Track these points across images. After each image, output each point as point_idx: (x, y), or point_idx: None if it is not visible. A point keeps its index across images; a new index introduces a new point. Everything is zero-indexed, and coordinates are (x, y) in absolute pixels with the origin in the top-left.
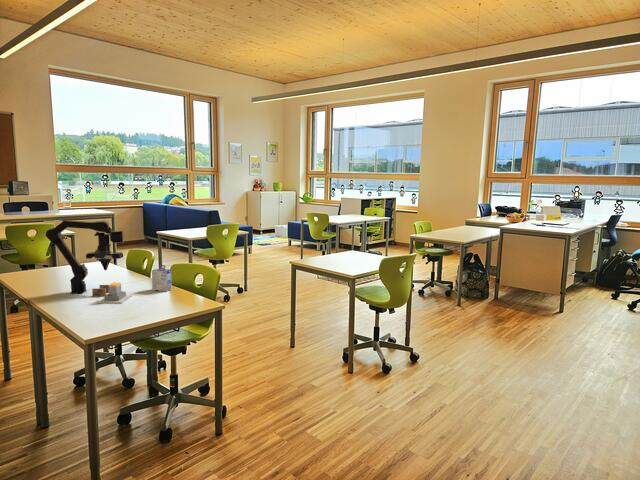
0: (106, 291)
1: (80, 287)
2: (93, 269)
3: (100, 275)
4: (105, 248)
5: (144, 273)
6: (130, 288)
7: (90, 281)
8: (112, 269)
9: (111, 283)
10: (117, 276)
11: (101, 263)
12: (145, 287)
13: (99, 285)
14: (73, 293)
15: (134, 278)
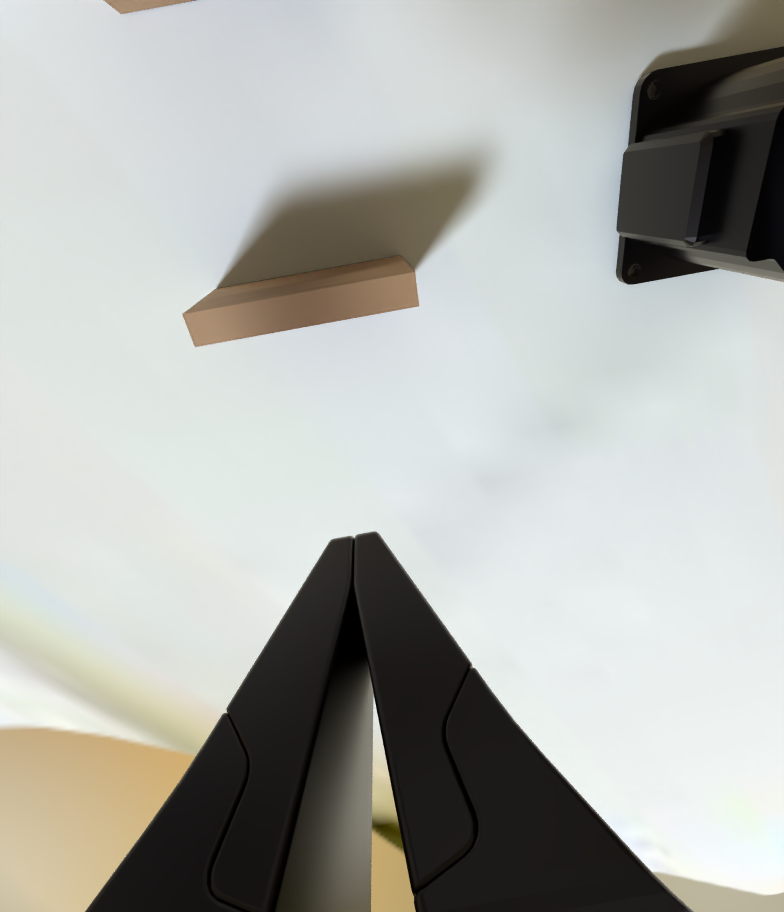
0: (300, 275)
1: (726, 109)
2: (778, 817)
3: (688, 749)
4: None
5: (396, 836)
6: (135, 503)
7: (712, 623)
8: (658, 840)
9: None
10: (548, 759)
11: (518, 746)
12: (2, 571)
13: (413, 272)
14: (768, 51)
15: (381, 753)
